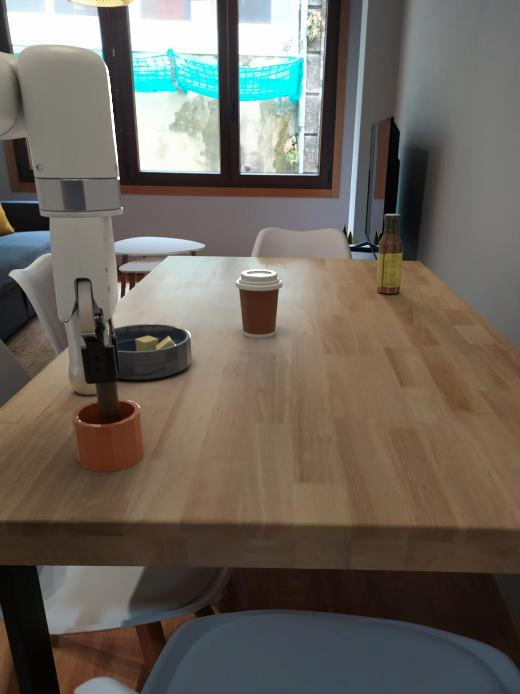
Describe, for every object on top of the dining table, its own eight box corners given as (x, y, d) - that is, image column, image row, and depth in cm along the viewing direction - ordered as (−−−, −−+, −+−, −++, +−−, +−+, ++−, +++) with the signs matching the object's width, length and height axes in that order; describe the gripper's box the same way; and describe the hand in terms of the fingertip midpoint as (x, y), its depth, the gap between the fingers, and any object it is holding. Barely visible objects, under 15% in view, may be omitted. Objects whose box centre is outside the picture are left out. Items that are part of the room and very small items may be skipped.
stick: (102, 450, 61) (86, 330, 56) (104, 440, 63) (89, 324, 57) (122, 448, 61) (108, 329, 56) (124, 439, 63) (111, 323, 58)
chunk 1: (134, 338, 93) (148, 335, 95) (136, 354, 94) (149, 350, 96) (144, 342, 91) (158, 338, 93) (146, 358, 92) (159, 354, 94)
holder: (74, 478, 59) (66, 429, 57) (84, 446, 65) (77, 400, 63) (142, 472, 60) (138, 424, 58) (145, 441, 67) (141, 396, 64)
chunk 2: (170, 340, 89) (168, 335, 91) (156, 350, 89) (155, 345, 91) (180, 352, 90) (179, 348, 93) (167, 363, 90) (166, 358, 92)
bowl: (92, 385, 82) (88, 354, 81) (103, 352, 96) (100, 325, 94) (193, 379, 85) (191, 349, 83) (190, 348, 99) (188, 322, 97)
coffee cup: (249, 342, 103) (248, 279, 98) (228, 329, 110) (227, 270, 106) (290, 335, 107) (291, 275, 103) (268, 324, 115) (268, 267, 110)
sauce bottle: (404, 292, 144) (412, 214, 136) (391, 296, 140) (398, 216, 132) (383, 288, 148) (390, 212, 141) (370, 292, 144) (376, 214, 136)
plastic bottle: (124, 384, 83) (110, 251, 75) (104, 402, 77) (87, 260, 69) (85, 381, 84) (67, 249, 76) (62, 399, 78) (39, 258, 70)
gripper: (55, 193, 58) (78, 354, 65) (16, 205, 44) (52, 411, 51) (127, 193, 60) (142, 351, 67) (113, 205, 45) (134, 405, 52)
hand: (103, 375), depth 59 cm, fingers closed on stick, 2 cm apart
